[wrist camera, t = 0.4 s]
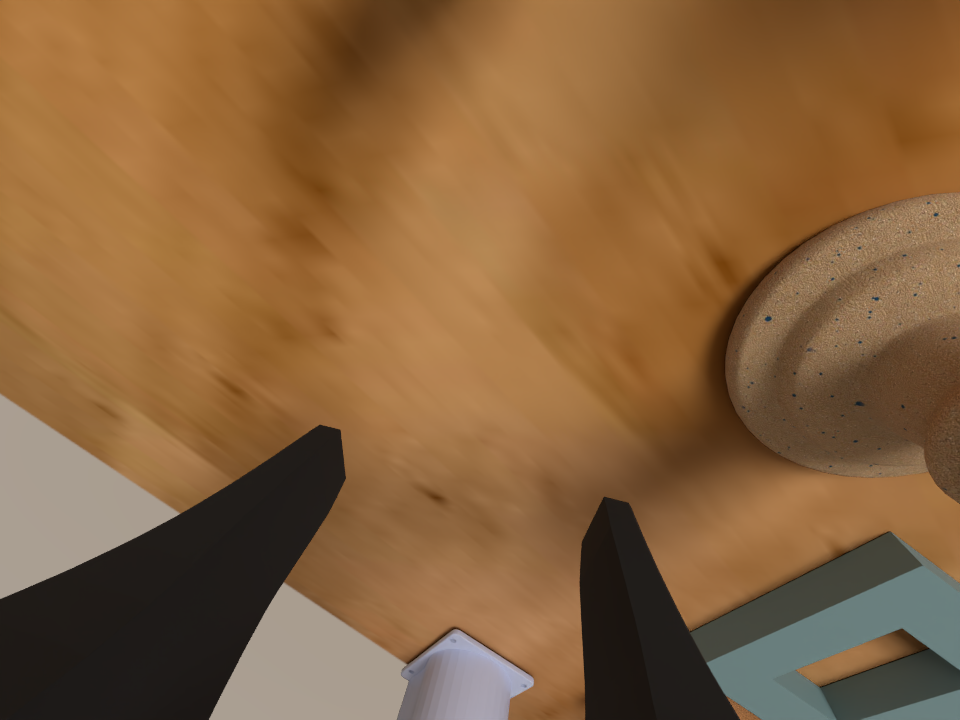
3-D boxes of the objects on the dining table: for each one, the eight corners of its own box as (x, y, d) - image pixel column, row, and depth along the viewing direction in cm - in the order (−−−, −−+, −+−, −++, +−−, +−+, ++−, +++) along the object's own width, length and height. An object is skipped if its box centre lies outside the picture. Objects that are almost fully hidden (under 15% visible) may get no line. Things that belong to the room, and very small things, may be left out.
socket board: (811, 726, 27) (828, 764, 25) (680, 637, 26) (689, 670, 24) (1050, 651, 21) (1096, 694, 19) (890, 531, 20) (922, 565, 18)
